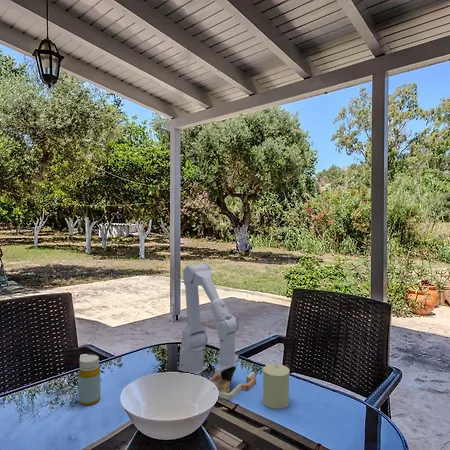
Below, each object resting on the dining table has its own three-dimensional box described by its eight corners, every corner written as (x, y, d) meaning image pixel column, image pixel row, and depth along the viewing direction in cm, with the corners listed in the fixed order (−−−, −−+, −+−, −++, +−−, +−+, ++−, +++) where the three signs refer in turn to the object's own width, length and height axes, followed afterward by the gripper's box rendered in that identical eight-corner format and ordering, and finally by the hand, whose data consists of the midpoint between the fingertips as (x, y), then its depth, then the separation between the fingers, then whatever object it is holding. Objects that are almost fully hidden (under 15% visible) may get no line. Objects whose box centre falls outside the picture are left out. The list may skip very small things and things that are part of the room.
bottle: (104, 398, 131) (104, 356, 130) (89, 408, 124) (89, 364, 123) (89, 393, 134) (89, 352, 133) (74, 403, 127) (73, 360, 126)
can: (288, 395, 134) (288, 363, 133) (290, 409, 125) (290, 375, 124) (262, 394, 135) (262, 361, 134) (262, 408, 125) (263, 373, 125)
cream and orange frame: (200, 391, 136) (200, 386, 136) (227, 369, 154) (227, 365, 154) (236, 402, 129) (236, 397, 129) (260, 378, 147) (260, 373, 146)
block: (214, 393, 134) (214, 383, 134) (220, 388, 138) (220, 378, 138) (224, 396, 132) (224, 385, 132) (229, 391, 136) (229, 381, 136)
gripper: (227, 359, 129) (226, 397, 130) (245, 345, 142) (245, 380, 142) (209, 355, 132) (209, 392, 133) (229, 342, 145) (229, 376, 146)
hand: (226, 386), depth 138 cm, fingers closed
